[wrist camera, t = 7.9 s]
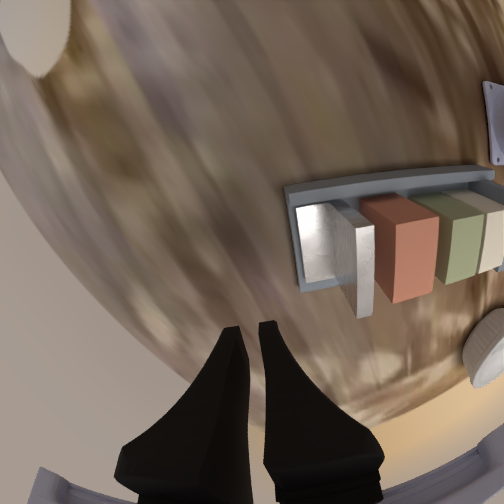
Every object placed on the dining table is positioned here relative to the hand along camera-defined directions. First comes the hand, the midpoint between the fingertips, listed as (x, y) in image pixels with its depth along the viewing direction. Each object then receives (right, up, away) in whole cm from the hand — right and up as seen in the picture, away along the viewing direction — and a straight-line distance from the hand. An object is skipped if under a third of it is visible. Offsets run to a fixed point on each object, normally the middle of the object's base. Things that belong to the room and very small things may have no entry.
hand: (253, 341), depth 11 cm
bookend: (+5, +5, +8) cm, 10 cm away
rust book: (+9, +5, +7) cm, 13 cm away
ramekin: (+32, -7, +15) cm, 36 cm away
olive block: (+13, +6, +7) cm, 16 cm away
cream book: (+17, +7, +7) cm, 19 cm away
